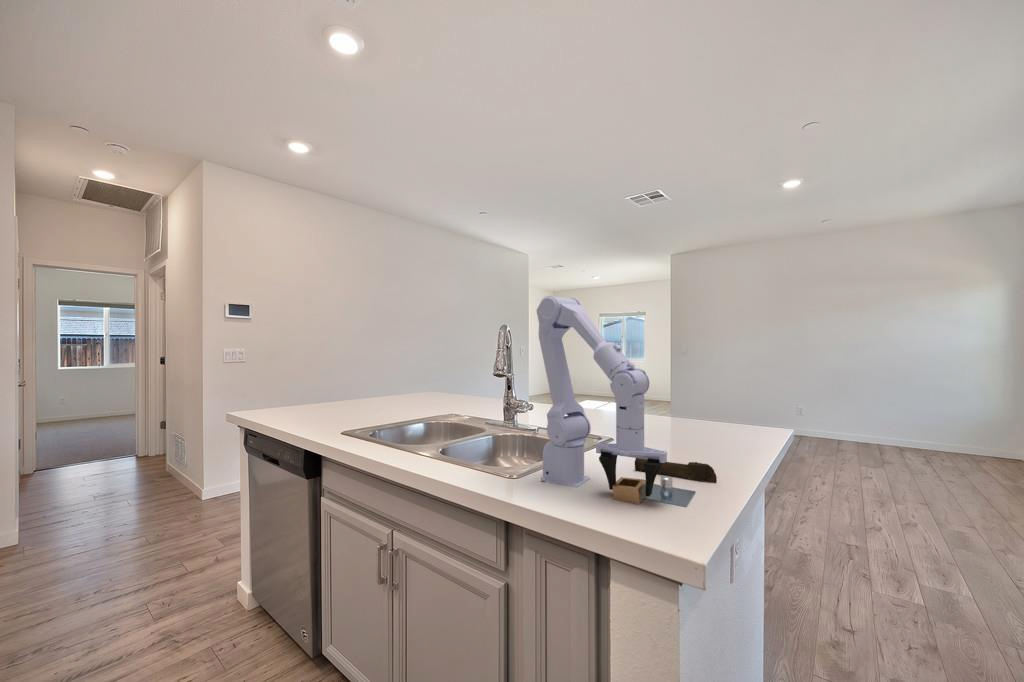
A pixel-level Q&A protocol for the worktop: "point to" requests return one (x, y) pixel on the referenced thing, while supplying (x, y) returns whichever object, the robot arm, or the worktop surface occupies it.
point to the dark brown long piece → (683, 470)
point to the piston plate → (673, 499)
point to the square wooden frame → (629, 490)
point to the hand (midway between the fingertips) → (630, 491)
